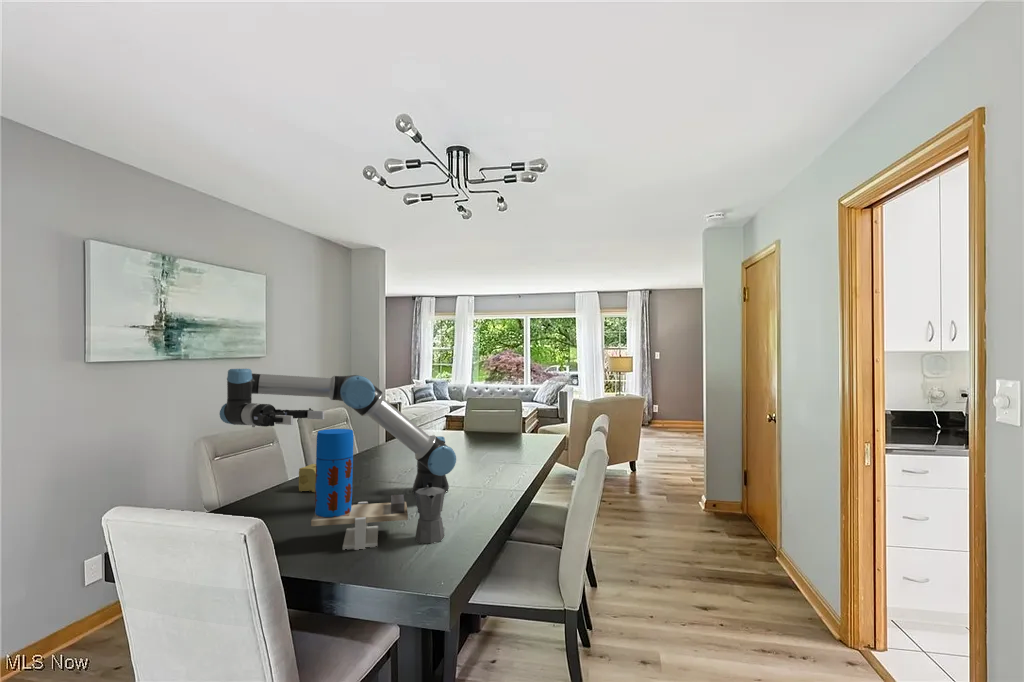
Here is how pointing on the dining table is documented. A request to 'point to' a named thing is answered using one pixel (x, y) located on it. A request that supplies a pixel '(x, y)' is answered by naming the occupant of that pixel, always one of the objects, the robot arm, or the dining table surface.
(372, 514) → the beam
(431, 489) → the coffeepot
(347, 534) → the fulcrum
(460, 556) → the dining table surface
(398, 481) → the dining table surface
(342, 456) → the thermos
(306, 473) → the cheese
